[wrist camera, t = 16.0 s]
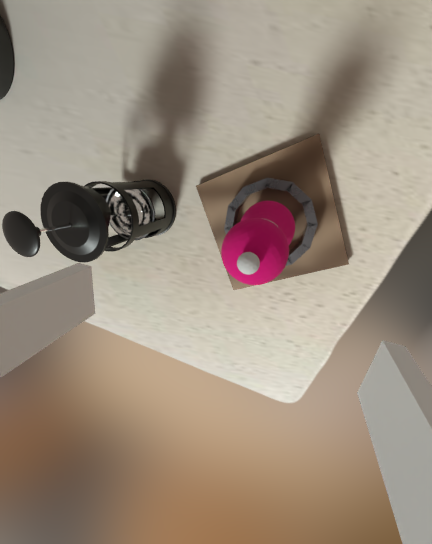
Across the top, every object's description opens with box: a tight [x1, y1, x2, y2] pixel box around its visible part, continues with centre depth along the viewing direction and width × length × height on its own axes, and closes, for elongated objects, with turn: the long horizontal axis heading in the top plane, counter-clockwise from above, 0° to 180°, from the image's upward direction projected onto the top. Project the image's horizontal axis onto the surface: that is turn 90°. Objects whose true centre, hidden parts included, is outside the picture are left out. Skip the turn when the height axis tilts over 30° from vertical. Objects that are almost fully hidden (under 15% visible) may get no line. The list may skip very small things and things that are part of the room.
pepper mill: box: [221, 201, 295, 285], centre depth 27 cm, size 7×7×20 cm
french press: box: [2, 180, 176, 262], centre depth 32 cm, size 12×9×23 cm
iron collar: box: [224, 178, 318, 266], centre depth 35 cm, size 12×12×2 cm
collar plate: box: [196, 134, 349, 290], centre depth 37 cm, size 18×18×1 cm
